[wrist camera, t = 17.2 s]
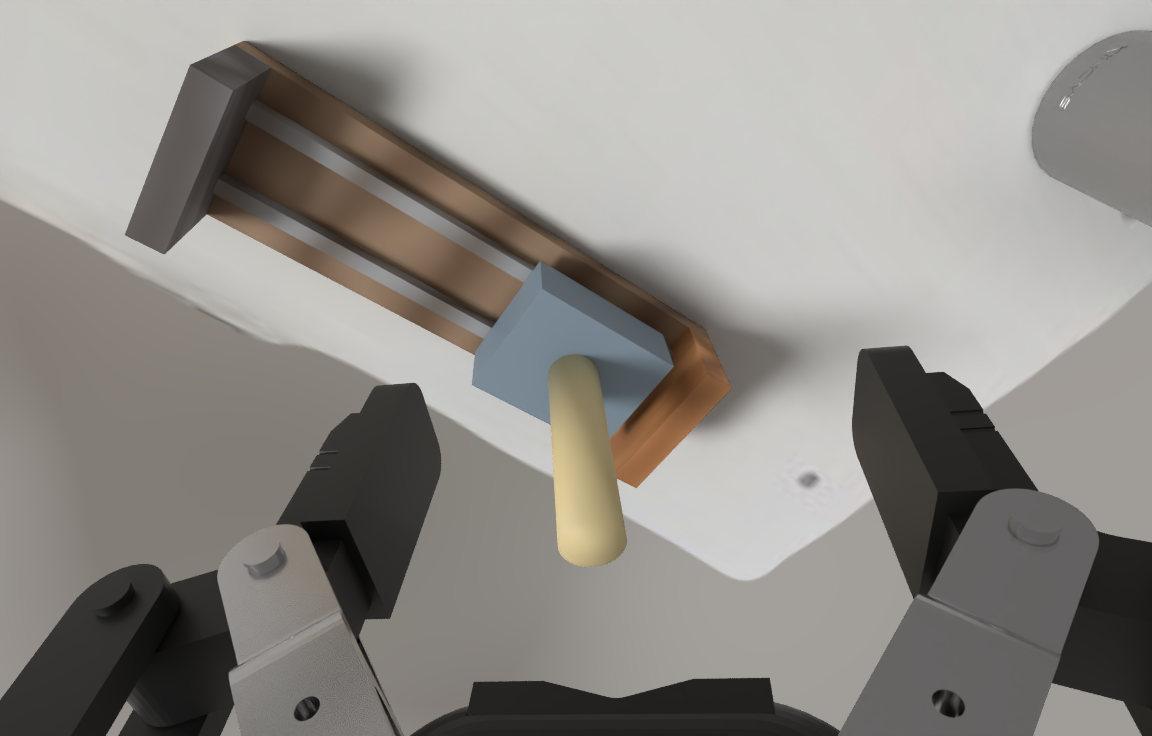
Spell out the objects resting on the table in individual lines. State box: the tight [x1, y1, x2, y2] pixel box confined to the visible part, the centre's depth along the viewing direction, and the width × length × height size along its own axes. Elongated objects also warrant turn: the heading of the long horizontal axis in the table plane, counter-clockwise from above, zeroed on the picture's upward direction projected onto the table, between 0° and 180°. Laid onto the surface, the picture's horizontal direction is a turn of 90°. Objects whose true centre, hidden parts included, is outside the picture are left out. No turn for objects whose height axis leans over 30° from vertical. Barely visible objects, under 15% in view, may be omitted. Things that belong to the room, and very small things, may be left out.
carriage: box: [472, 260, 674, 567], centre depth 40 cm, size 10×8×18 cm
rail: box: [125, 41, 732, 488], centre depth 43 cm, size 34×10×8 cm, turn 55°
